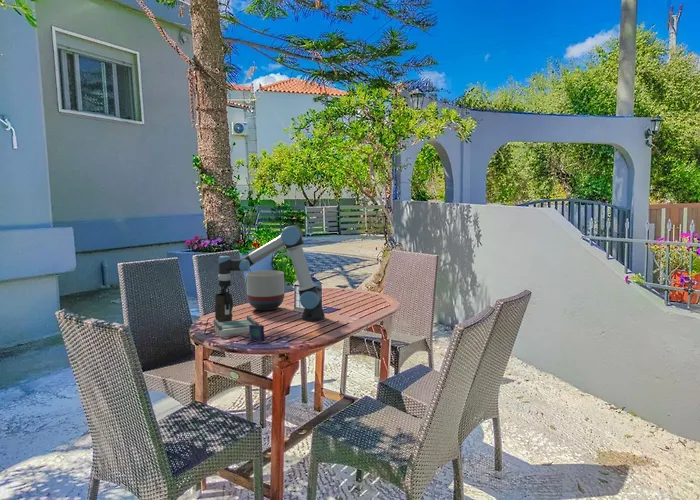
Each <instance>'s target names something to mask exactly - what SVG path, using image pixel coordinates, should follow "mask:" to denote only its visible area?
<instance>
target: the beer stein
mask: <svg viewBox="0 0 700 500" xmlns="http://www.w3.org/2000/svg"><path fill="white" fill-rule="evenodd" d="M229 297H230V304H229V314H228V315H225V305H224V303H225V295H224V296H223V294H221V293H216V294H215V295H214V298H215V302H214V314H215V315H214V316H215V317H214V318H215V319H217V321H218V322H227V321H233V312H232V311H233V306H234V300H233V295H232V294H231V293H229Z"/></svg>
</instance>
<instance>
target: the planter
mask: <svg viewBox="0 0 700 500" xmlns="http://www.w3.org/2000/svg"><path fill="white" fill-rule="evenodd" d="M246 297H247V303H249V305H250V306H251V307H252V308H254V309H255V310H257V311H262V312H264V311H265V312H267V311H272V310H276V309H277V308H278V307H279V306H281V305H282V303H283V302H284V300H285V272H284V271H282V270H275V269H274V270H273V269H271V270H269V269H268V270H254V271H248V272H247V273H246Z"/></svg>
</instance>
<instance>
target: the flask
mask: <svg viewBox="0 0 700 500" xmlns="http://www.w3.org/2000/svg"><path fill="white" fill-rule="evenodd" d="M264 327H265V326H264V325H263V324H260V323H259V322H258V321H256V322H255V324H250V325H249V334H248V335H249V338H248V339H249V340H250V341H254V340H256V341H255V342H264V341H265V328H264Z"/></svg>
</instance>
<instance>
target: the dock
mask: <svg viewBox="0 0 700 500" xmlns="http://www.w3.org/2000/svg"><path fill="white" fill-rule="evenodd" d="M255 322H257V321H256V320H255V319H254V318H253V317H252V316H250V315H246V318H245V319H238V320H237V319H236V320H232V321H227V322H218V321H217V319H213V331H215V333H216V334H217V335H218V337H219V338H226V337H233V336H234V337H235V335H236V336H244V335H249V325H250V324H255Z"/></svg>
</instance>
